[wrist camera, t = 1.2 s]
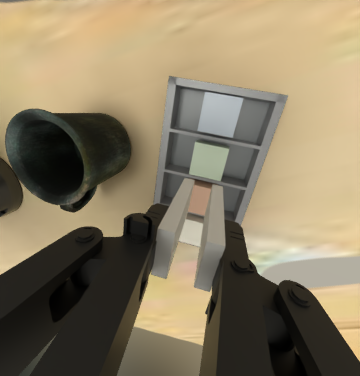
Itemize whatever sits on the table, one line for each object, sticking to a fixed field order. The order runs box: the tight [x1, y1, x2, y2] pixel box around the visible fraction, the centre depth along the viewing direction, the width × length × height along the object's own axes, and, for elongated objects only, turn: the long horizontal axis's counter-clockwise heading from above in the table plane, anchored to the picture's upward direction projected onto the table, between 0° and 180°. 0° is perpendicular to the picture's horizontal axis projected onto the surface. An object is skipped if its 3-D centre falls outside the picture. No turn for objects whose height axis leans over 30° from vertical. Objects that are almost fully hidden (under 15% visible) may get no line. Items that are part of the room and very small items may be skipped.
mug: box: [5, 109, 131, 212], centre depth 27 cm, size 11×15×12 cm
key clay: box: [188, 178, 218, 215], centre depth 27 cm, size 4×4×2 cm
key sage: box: [189, 140, 229, 181], centre depth 25 cm, size 4×4×2 cm
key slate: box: [197, 92, 244, 138], centre depth 23 cm, size 4×4×2 cm
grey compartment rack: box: [153, 76, 288, 247], centre depth 28 cm, size 14×24×4 cm, turn 170°
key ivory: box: [179, 213, 204, 247], centre depth 30 cm, size 4×4×2 cm
